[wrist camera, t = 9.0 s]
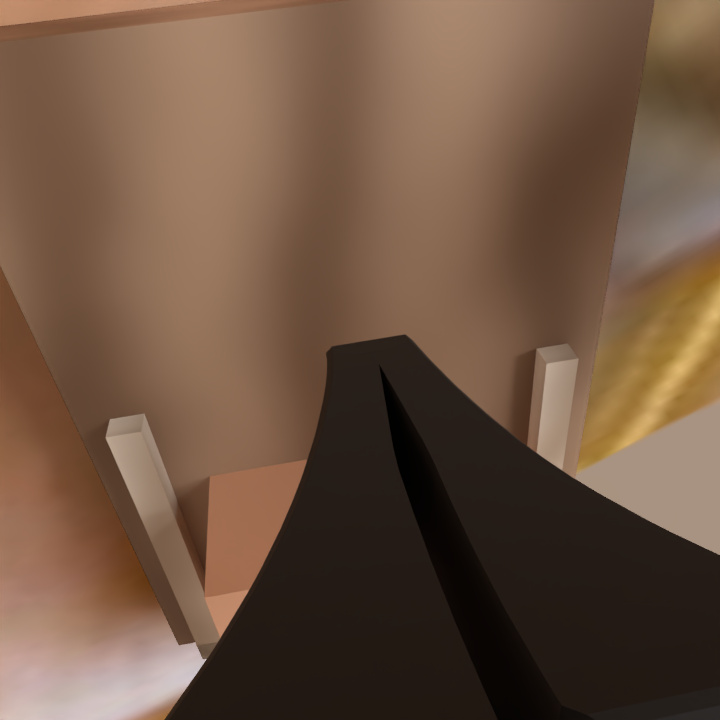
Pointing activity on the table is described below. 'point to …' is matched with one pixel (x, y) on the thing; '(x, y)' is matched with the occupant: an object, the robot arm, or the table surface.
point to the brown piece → (306, 226)
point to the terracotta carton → (243, 531)
